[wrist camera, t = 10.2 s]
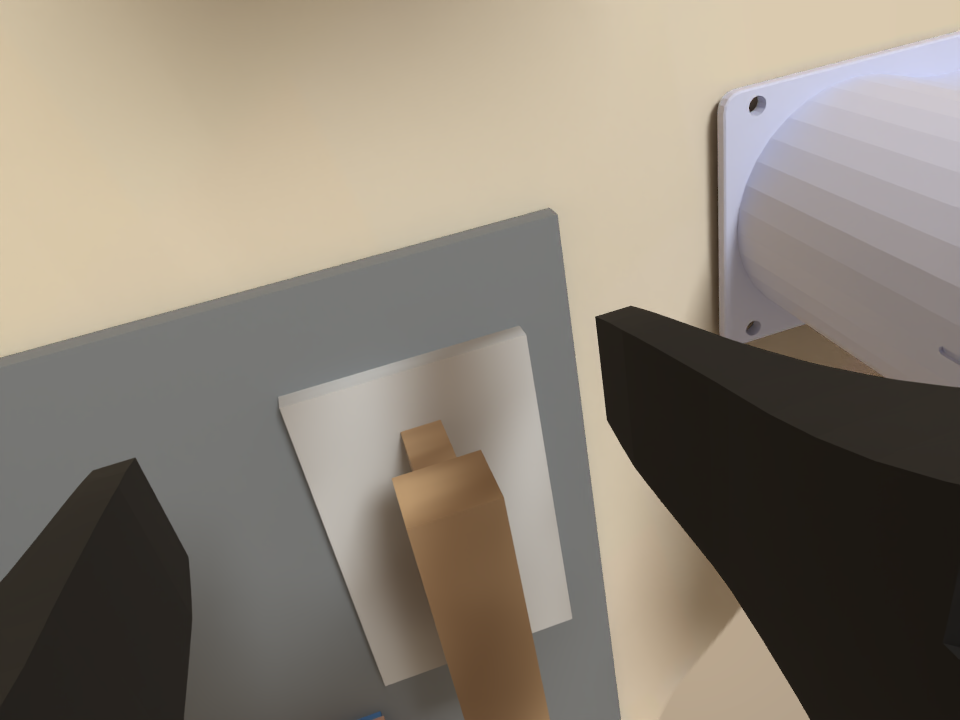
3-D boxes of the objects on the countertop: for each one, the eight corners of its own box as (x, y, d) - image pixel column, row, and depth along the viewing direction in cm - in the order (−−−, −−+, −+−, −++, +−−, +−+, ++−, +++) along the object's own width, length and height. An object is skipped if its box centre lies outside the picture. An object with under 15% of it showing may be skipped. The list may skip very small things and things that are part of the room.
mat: (549, 207, 21) (557, 214, 21) (620, 748, 35) (626, 761, 34) (-286, 435, 18) (-301, 450, 17) (151, 932, 31) (149, 949, 31)
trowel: (519, 325, 22) (587, 417, 18) (566, 606, 28) (625, 724, 24) (278, 396, 21) (289, 513, 17) (382, 672, 27) (409, 807, 23)
